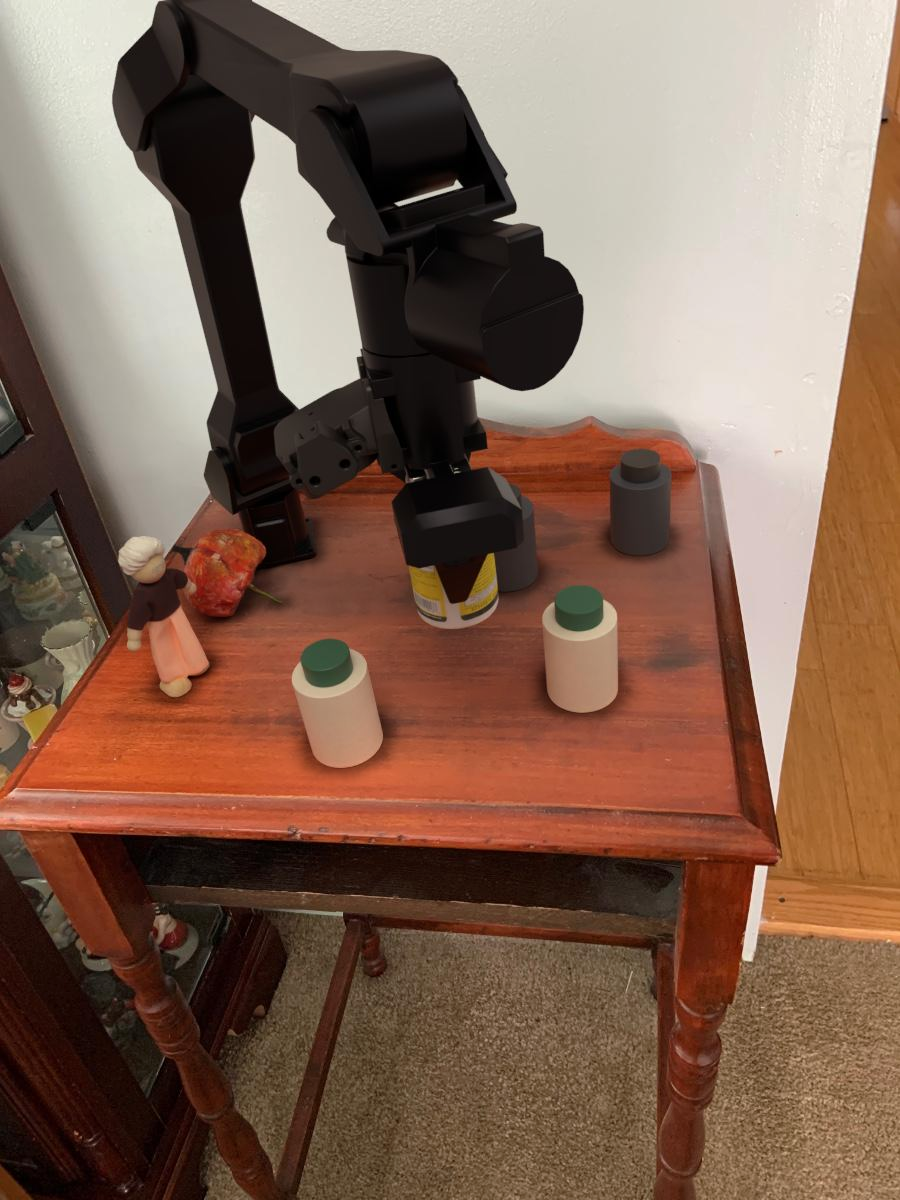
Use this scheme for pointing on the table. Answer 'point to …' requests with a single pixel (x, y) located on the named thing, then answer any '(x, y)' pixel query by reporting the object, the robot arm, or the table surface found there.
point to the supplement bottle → (437, 605)
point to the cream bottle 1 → (337, 704)
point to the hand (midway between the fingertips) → (448, 575)
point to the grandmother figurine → (161, 615)
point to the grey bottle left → (519, 553)
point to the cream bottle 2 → (581, 650)
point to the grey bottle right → (640, 503)
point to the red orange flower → (222, 570)
